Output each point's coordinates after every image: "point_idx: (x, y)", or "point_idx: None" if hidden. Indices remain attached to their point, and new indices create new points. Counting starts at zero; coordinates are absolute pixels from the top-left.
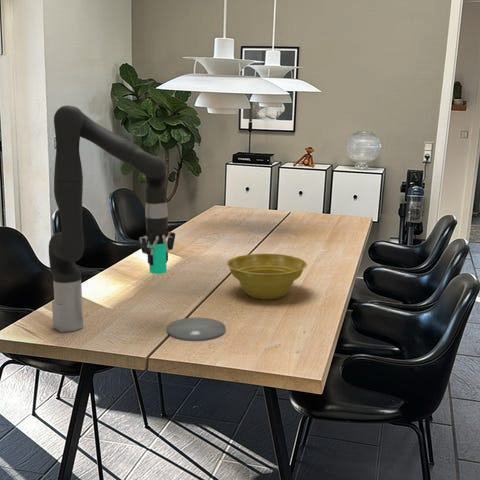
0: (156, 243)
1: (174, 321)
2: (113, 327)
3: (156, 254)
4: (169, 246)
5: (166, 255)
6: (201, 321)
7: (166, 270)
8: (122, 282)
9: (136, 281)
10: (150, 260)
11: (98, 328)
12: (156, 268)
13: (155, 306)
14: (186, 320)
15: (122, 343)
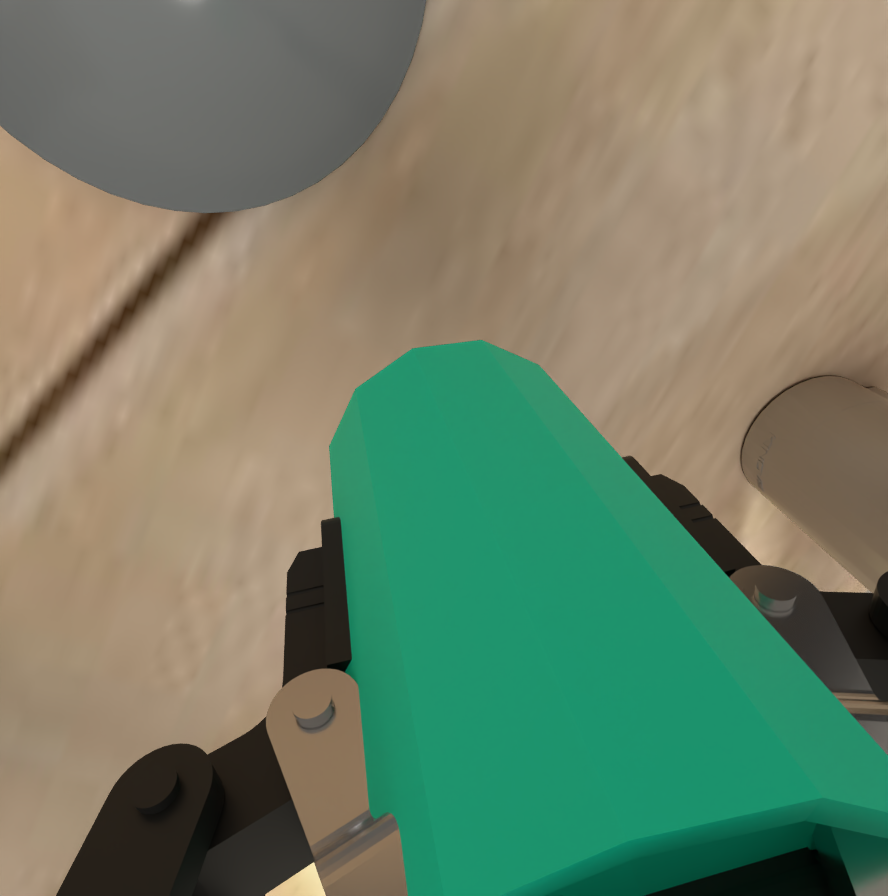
0: (874, 876)
1: (292, 186)
2: (645, 338)
3: (683, 546)
4: (206, 858)
5: (336, 611)
6: (64, 51)
7: (359, 396)
8: None
9: None
10: (697, 512)
11: (713, 361)
12: (559, 395)
13: (277, 560)
14: (191, 156)
15: (773, 12)
